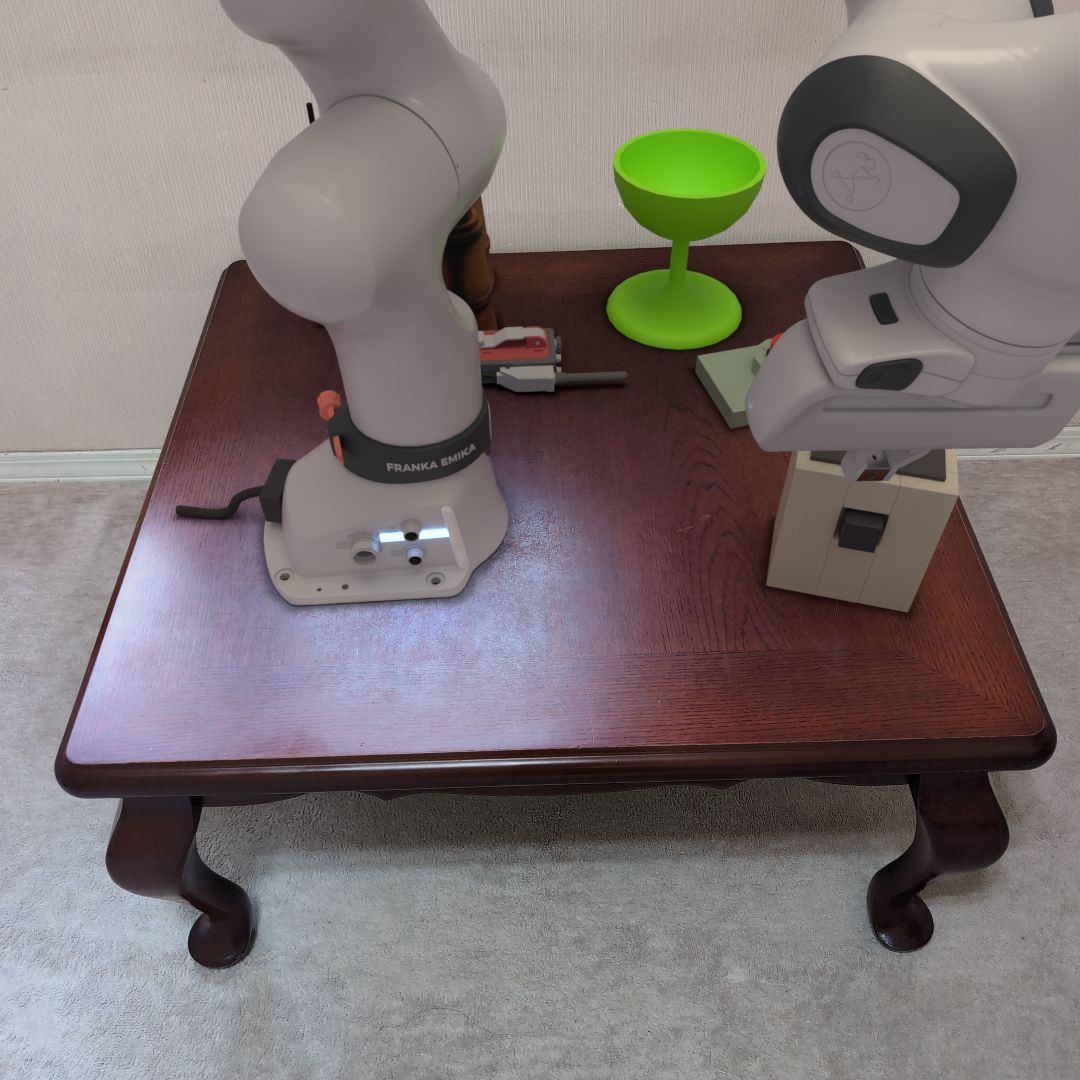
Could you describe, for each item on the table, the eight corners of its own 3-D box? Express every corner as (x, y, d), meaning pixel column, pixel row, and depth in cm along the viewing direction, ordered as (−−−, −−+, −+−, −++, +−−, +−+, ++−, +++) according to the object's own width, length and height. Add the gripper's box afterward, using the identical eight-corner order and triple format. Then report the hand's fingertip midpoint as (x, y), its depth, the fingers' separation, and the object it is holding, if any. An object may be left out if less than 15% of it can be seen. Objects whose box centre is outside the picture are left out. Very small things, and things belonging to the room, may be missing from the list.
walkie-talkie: (441, 399, 101) (628, 392, 102) (438, 366, 98) (630, 358, 99) (443, 350, 107) (619, 343, 108) (439, 317, 104) (621, 310, 105)
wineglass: (589, 284, 116) (593, 139, 103) (710, 265, 119) (730, 120, 106) (631, 359, 106) (642, 208, 93) (764, 336, 108) (793, 186, 95)
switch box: (730, 429, 97) (735, 398, 95) (694, 372, 104) (698, 341, 101) (836, 408, 99) (845, 378, 97) (795, 354, 106) (802, 323, 103)
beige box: (765, 585, 83) (796, 464, 73) (774, 522, 88) (804, 400, 78) (907, 612, 81) (960, 491, 70) (908, 546, 86) (957, 423, 76)
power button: (837, 547, 76) (845, 522, 74) (839, 529, 77) (846, 505, 75) (873, 553, 75) (882, 529, 73) (874, 535, 77) (883, 511, 75)
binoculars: (428, 265, 120) (411, 103, 105) (493, 262, 120) (485, 101, 105) (425, 351, 107) (405, 181, 93) (498, 347, 108) (490, 178, 93)
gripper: (1111, 287, 55) (984, 434, 67) (785, 280, 52) (710, 437, 63) (1160, 369, 52) (1018, 508, 64) (816, 368, 48) (732, 516, 60)
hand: (862, 473), depth 63 cm, fingers closed
